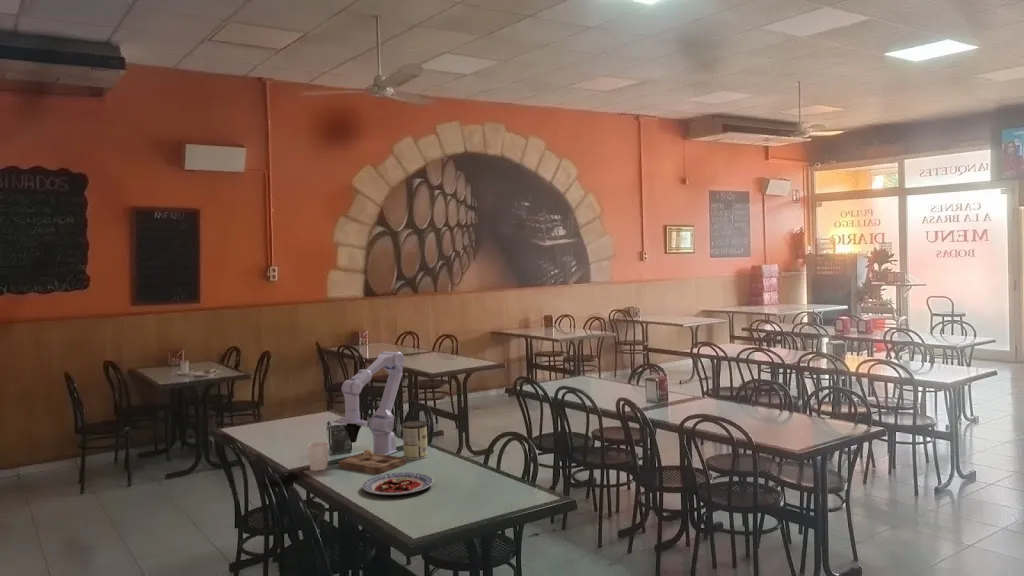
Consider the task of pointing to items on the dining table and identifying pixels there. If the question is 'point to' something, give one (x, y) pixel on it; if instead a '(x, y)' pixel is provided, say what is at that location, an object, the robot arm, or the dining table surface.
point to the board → (372, 463)
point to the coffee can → (415, 440)
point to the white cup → (318, 455)
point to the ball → (368, 454)
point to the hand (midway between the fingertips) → (353, 442)
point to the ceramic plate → (398, 483)
